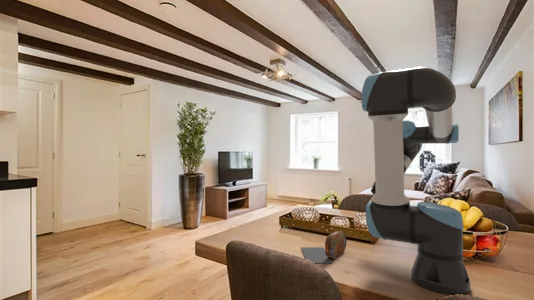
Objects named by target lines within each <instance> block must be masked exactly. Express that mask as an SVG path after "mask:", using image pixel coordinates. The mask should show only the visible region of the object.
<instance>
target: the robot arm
mask: <svg viewBox="0 0 534 300" xmlns="http://www.w3.org/2000/svg"><path fill="white" fill-rule="evenodd" d="M456 90H457V89H456V87H455V85H454V83H453V82H452V81H451V79H449V77H448V76H446V74H444V73H442V72H441V71H438V70H436V69H434V68H431V67H430V68H429V67H424V66H417V67H413V68H405V69H403V68H402V69H398V70H395V69H394V70H390V71H381V72H378V73H372V74H370V75H368V76H367V77H366V78H365V80H364V82H363V86H362V90H361V100H360V101H361V109H362V110H363V111H364V112H367V116H368V118H369V119H370V120H371V121H372V122H373V123H372V124H373V149H374V152H373V153H374V179H375V180H374V182H373V185H372V187H371V190H370V193H372V195H371V197H370V199H369V201H368V202H367V204H366V205H365V221H366V223H365V224H366V228H367V230H368V232H369V234H370V235H371V237H372V236H373V237H375V238H377V239H381V240H386V241H387V240H389V241H393V242H394V241H395V242H399V243H406V244H413V245H417V254H416V257H415V260H414V261H413V264H412V267H411V274H410V275H411V279H412V281H413V282H414V283H415V284H417V285H418V286H420V287H422V288H425V289H427V290H429V291H433V292H437V293H440V294H446V295H453V294H459V295H466V294H468V293H469V292H471V280H470V278H469V274H468V271H467V268H466V266H465V263H464V246H463V245H464V242H463V240H464V239H463V231H464V228H465V226H464V224H463V223H464V222H463V215H462V213H461V212H460V210H458V209H456V208H454V207H451V206H449V205H445V204H440V203H435V202H429V201H428V202H427V201H420V202H417V204H416V205H411V203H410V202H411V200H410V198H409V197H407V196H406V195H405V173H406V172H407V170H408V169H409V167H411V164H412V163H413V161H414V160H415V158H416V157H417V156H418V154H419V153H420V151H421V149H422V147H423V144H456V143H458V142H459V141H460V140H459V138H460V137H459V135H460V134H459V133H460V131H459V129H460V127H459V124H457V123H453V105H454V103H455V102H456V99H457V91H456ZM412 108H423V109H424V111H425V115H426V120H427V124H423V125H416V124H415V122H413V121H412V120H409V119H408V120H407V119H406V117H407V116H408V115H409V109H412ZM404 119H406V120H404Z"/></svg>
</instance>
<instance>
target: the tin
mask: <svg viewBox="0 0 534 300" xmlns="http://www.w3.org/2000/svg"><path fill="white" fill-rule="evenodd" d="M346 246H347V236H346V232H345V231H344V230H343V231H341V230H336V231H334V232H332V233H330V234H328V235H327V236H326V238H325V242H324V250H325V254H326V256H327V257H329V258H330V259H334V260H335V259H337V258H338V257H339V256H341V255H342V254H344V253H345V251H346Z"/></svg>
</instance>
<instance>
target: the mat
mask: <svg viewBox="0 0 534 300" xmlns="http://www.w3.org/2000/svg"><path fill="white" fill-rule="evenodd" d="M300 248H301V252H302V254H303V257H304V259H308V260H310V261H312V262H314V263H316V264H315V265H333V261H332V260H331V258H329V257H327V256H326V254H325V247H316V246H315V247H310V246H309V247H308V246H307V247H305V246H304V247H300Z"/></svg>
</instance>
